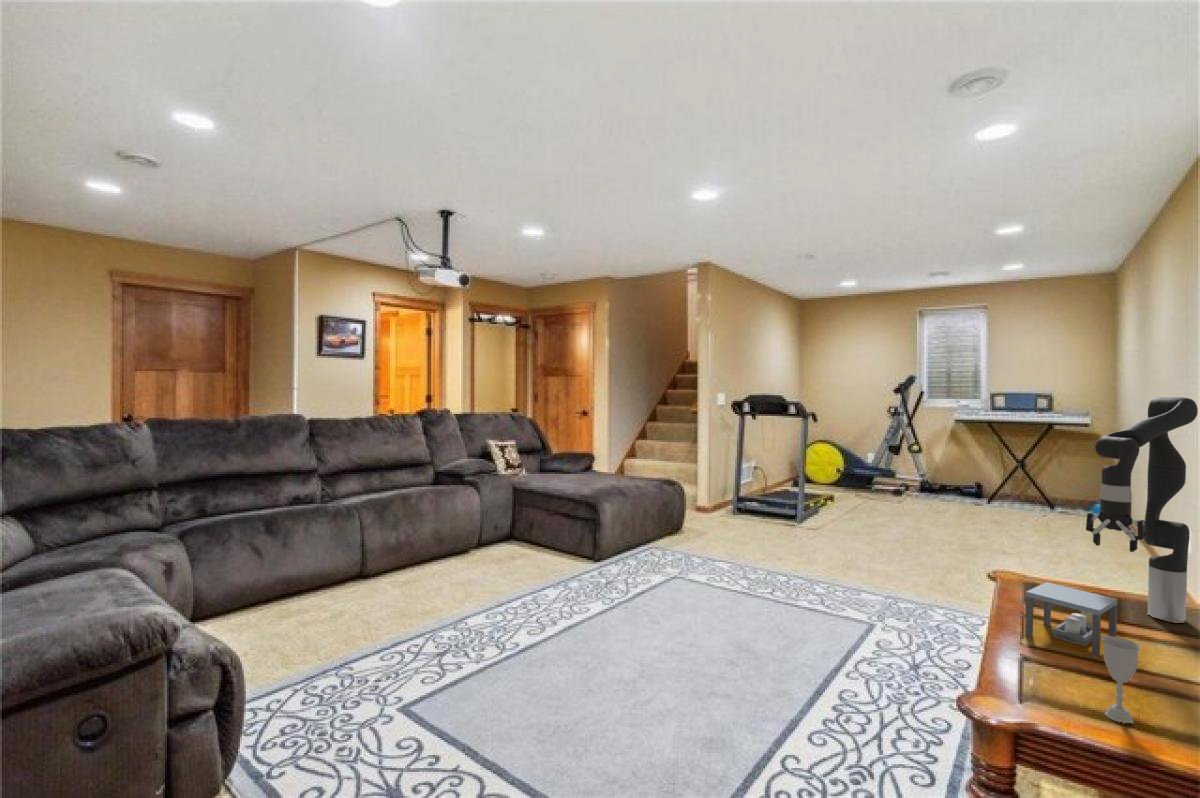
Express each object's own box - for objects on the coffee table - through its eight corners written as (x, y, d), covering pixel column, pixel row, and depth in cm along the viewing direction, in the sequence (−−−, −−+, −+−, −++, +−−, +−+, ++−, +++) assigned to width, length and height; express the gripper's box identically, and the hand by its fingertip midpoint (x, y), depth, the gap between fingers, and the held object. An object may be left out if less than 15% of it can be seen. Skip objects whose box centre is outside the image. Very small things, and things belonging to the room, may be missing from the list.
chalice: (1147, 728, 131) (1149, 651, 131) (1112, 724, 133) (1114, 648, 132) (1124, 710, 139) (1126, 637, 138) (1092, 707, 140) (1094, 634, 139)
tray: (1074, 623, 190) (1074, 602, 190) (1105, 631, 183) (1105, 610, 183) (1052, 636, 180) (1052, 614, 179) (1084, 646, 173) (1085, 623, 173)
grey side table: (1045, 623, 189) (1046, 582, 189) (1116, 644, 174) (1117, 599, 174) (1025, 635, 180) (1026, 591, 180) (1098, 658, 165) (1099, 610, 165)
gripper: (1148, 501, 181) (1147, 551, 181) (1091, 493, 193) (1090, 541, 193) (1141, 503, 177) (1140, 555, 177) (1083, 496, 189) (1082, 545, 189)
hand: (1114, 548), depth 185 cm, fingers open, 8 cm apart
